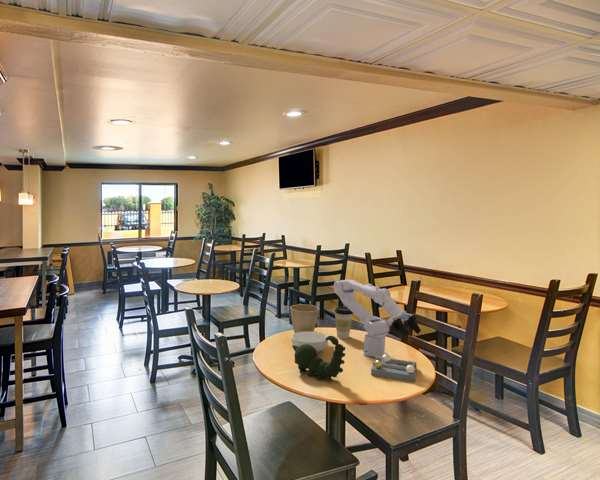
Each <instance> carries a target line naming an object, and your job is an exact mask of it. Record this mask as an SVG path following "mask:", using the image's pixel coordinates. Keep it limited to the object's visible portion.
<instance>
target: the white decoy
mask: <svg viewBox="0 0 600 480" xmlns="http://www.w3.org/2000/svg"><path fill="white" fill-rule="evenodd" d="M406 371H407V372H408V373H413V372H414V367H413V366H412V365H408V366H407V367H406Z"/></svg>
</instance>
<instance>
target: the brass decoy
mask: <svg viewBox="0 0 600 480" xmlns="http://www.w3.org/2000/svg"><path fill="white" fill-rule="evenodd" d="M374 361H375V360H374ZM374 365H375V367H376V368H381V367H382V362H381V361H380V360H376V361H375V363H374Z"/></svg>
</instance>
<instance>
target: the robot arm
mask: <svg viewBox="0 0 600 480" xmlns="http://www.w3.org/2000/svg"><path fill="white" fill-rule="evenodd" d="M356 291H358V292H360V293H362V295H363V296H365V297H367V298H370V299H372V300H373V302H374V303H376V304H379V306H381V307H382V308H383V309H384V311H385V312H386V313H387V314H388V315H389V318H388V319H387V320H385V319H382V318H381V317H378V316H375V315H373V314H372V313H371V312H370V311H369V310H367V309H366V308H365V307H364V306H363V305H362V304H361V303H360V302H359V301H357V300H356V299H355V298H354V297H355V292H356ZM333 292H334V294H336V295H337V296H338V297H339V299H340V301H341V303H342V304H343V305H344V307H347V308H349V309H350V310H351V311H352V312H353V315H355V316H356V317H357V318H358V319H359V320H360V321H361V322H362V323H364V324H363V329H364V330H365V331H366V333H367V334H365V335H364V339H363V340H364V341H363V356H365V357H372V358H373V357H374V358H375V356H377V357H382V356H383V355H384V354H387V351H385V350H386V336H387V334H388V333H389V332H390V329H393V330H395V331H397V332H398V333H401V335H403V336H404V337H408V336H409V334H410V331H409V330H408V329H407V327H409V328H411V330H412V331H413V332H415V334H417V335H419V334H420V333H421V331H422V330H421V328H420V326H419V323H418V321H417V317H416V315H414V314H413V313H407V311H406V310H402V308H401V307H400V306H399V305H398V303H397V302H396V301H395V299H393V298H392V296H391V292H390V291H389V289H388V288H386V287H384V288H383V287H382V288H380V286H374V285H373V284H372V283H367V284H363V283H360V282H357V281H356V280H355V279H351V278H349V279H341V280H334V283H333ZM404 321H405V322H406V324H405V325H404V323H403V322H404ZM390 325H391V326H390ZM406 326H407V327H406Z"/></svg>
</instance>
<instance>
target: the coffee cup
mask: <svg viewBox="0 0 600 480" xmlns="http://www.w3.org/2000/svg"><path fill="white" fill-rule="evenodd" d="M334 313H335V315H334V317H335V318H334V319H335V328H336V329H335V331H336V338H337V339H343V340H344V339H345V340H346V339H349V338H350V331H351V328H352V322H353V321H352V320H353V315H354V313H353V312H352V311H351V310H350V309H349V308H347V307H346V306H337V307H335V310H334Z"/></svg>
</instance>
